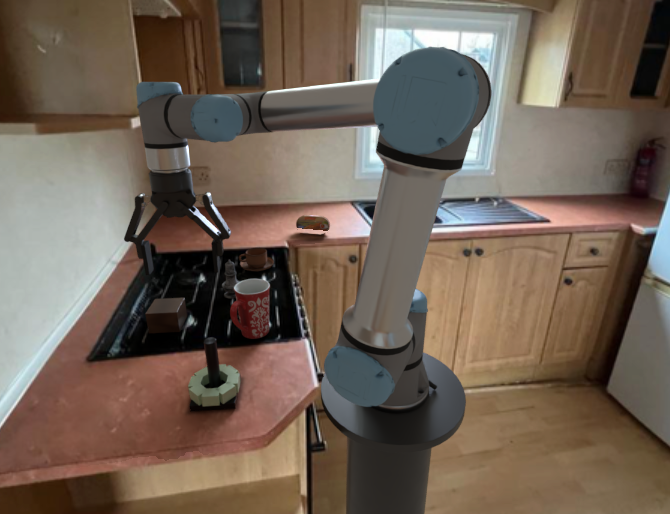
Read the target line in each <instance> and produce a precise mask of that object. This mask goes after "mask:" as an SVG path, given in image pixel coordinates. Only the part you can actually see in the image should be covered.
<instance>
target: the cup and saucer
mask: <svg viewBox="0 0 670 514" xmlns="http://www.w3.org/2000/svg"><path fill="white" fill-rule="evenodd" d="M242 257H245V258H243V259H242ZM238 259H239V261H240V263H239V265H240V268H242V269H243V270H245V271H247V272H262V271H266V270H268V269H270V268H272V267H273V266H274V264H275V260H274V259H273V258H272V257H270V256H268V250H267V249H266V248H264V247H251V248H249V249H247V250H246V251H245V253H242V254H240V255H239V256H238Z"/></svg>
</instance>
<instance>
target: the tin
mask: <svg viewBox="0 0 670 514" xmlns="http://www.w3.org/2000/svg"><path fill="white" fill-rule="evenodd" d="M295 227H296V229H297V228H302V229H313V230H323V231H328V230H330V228H331V223H330V220H329V218H327V217H326V216H324V215H312V214H304V215H301V216H299V217H298V218H297V219H296V222H295ZM328 232H329V231H328Z"/></svg>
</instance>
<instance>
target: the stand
mask: <svg viewBox="0 0 670 514" xmlns="http://www.w3.org/2000/svg"><path fill="white" fill-rule="evenodd" d="M203 347H204V354H205V361H206V366H207V370H208V377H209V383H208V384H206V385H205V386H204V387H205V388H206V389H209V388H218V387H220V386H221V385H223V384H225V383H226V382H225V381H223V380H221V375H220V367H219V364H220V362H219V361H220V359H219V350H218V343H217V338H216V337H213V336H211V337H210V336H209V337H207V338H205V339H204V340H203ZM241 381H242V376H241V373H240V383H241ZM238 397H239V393H236V396H235V397H233V398H232V399H230V400H229V401H227V402H226V403H224V404H223V403H221V402H220V405H217V406H203V405H202V404H201V405H198V404H197V403H195V402H194V401H193V400H192V399H190V402H189V405H188V409H189V412H190V413H191V412H193V413H194V412H206V411H222V410H235V409H237V403H238Z"/></svg>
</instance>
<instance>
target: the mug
mask: <svg viewBox="0 0 670 514" xmlns="http://www.w3.org/2000/svg"><path fill="white" fill-rule="evenodd" d="M270 288H271V284H270V282H269V281H267V280H266V279H261V278H248V279H244V280H240V282H239V283H237V284H236V285H235V286H234V291H235V295H236V298H235V299H236V300H235V301H233V303H232V304H231V306H230V310H229V315H230V319H231V321H232V323H233V324H234V326H235V327H237V328H238V329H239V330H240V331H241V335H242V336H243V338H246V339H250V340H257V339H260V338H263V337H265V336H267V335H268V334H269V333H270ZM238 318H239V319H238Z"/></svg>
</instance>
